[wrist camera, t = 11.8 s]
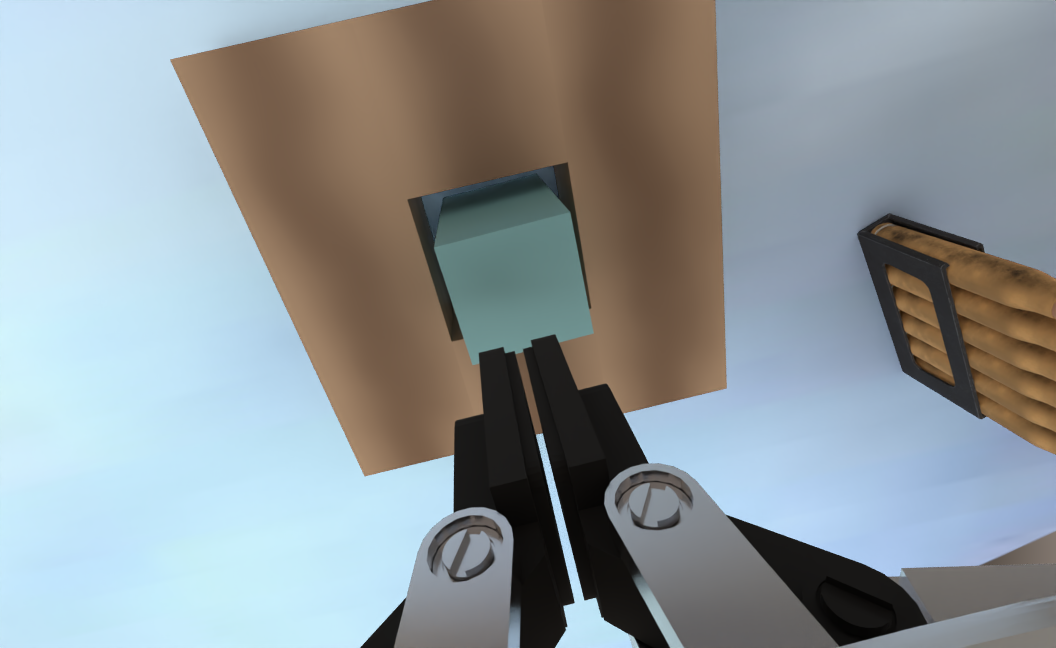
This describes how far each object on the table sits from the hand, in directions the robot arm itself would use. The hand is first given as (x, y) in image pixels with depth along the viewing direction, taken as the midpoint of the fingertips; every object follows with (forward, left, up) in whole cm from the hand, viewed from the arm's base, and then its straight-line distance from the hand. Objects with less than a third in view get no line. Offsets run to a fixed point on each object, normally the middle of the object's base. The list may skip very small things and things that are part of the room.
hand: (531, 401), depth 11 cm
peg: (0, 0, -14) cm, 14 cm away
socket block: (0, 0, -14) cm, 14 cm away
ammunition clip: (-21, +9, -15) cm, 27 cm away
